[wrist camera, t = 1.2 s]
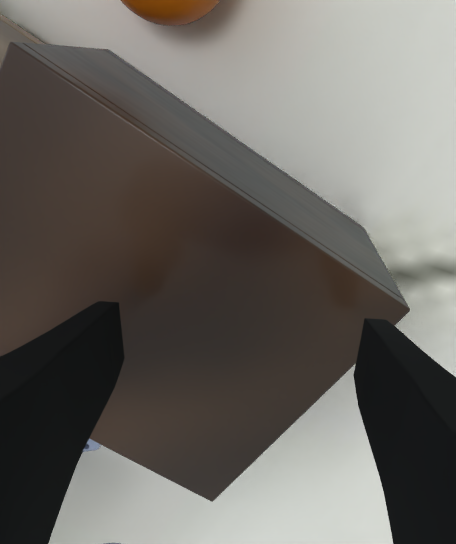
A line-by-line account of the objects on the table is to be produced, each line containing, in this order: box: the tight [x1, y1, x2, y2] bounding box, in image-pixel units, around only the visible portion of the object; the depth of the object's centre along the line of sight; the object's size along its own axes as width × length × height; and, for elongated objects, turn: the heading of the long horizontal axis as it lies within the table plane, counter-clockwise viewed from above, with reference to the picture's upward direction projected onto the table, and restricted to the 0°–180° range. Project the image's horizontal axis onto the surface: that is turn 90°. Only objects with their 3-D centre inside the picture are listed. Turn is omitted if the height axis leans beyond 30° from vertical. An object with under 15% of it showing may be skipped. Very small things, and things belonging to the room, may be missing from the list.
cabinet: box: [0, 42, 410, 501], centre depth 19 cm, size 14×12×8 cm
